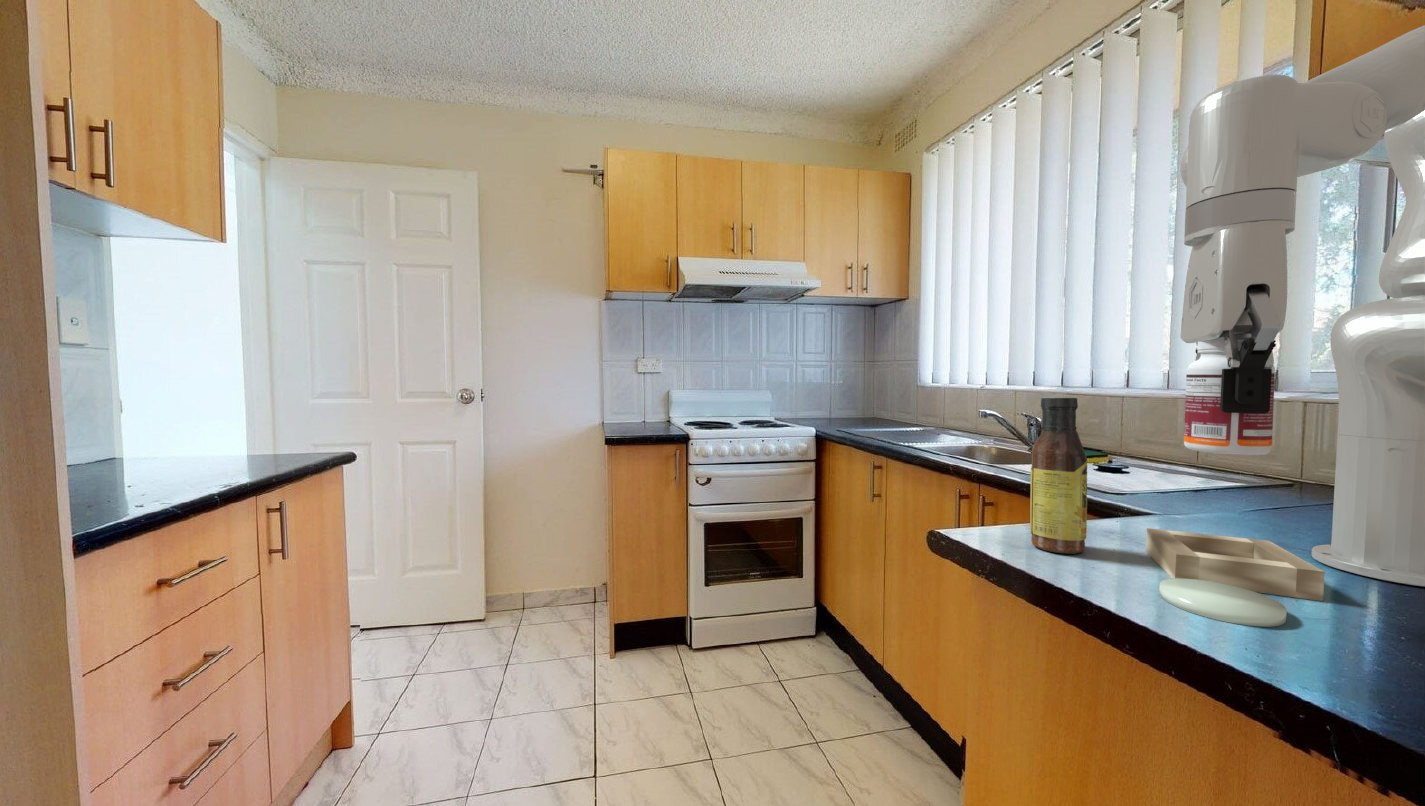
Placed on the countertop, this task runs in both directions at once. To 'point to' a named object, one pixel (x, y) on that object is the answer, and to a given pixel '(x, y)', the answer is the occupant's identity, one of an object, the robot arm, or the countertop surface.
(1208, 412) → the pill bottle
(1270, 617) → the saucer
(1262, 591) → the wooden square frame
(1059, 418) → the sauce bottle
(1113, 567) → the countertop surface
